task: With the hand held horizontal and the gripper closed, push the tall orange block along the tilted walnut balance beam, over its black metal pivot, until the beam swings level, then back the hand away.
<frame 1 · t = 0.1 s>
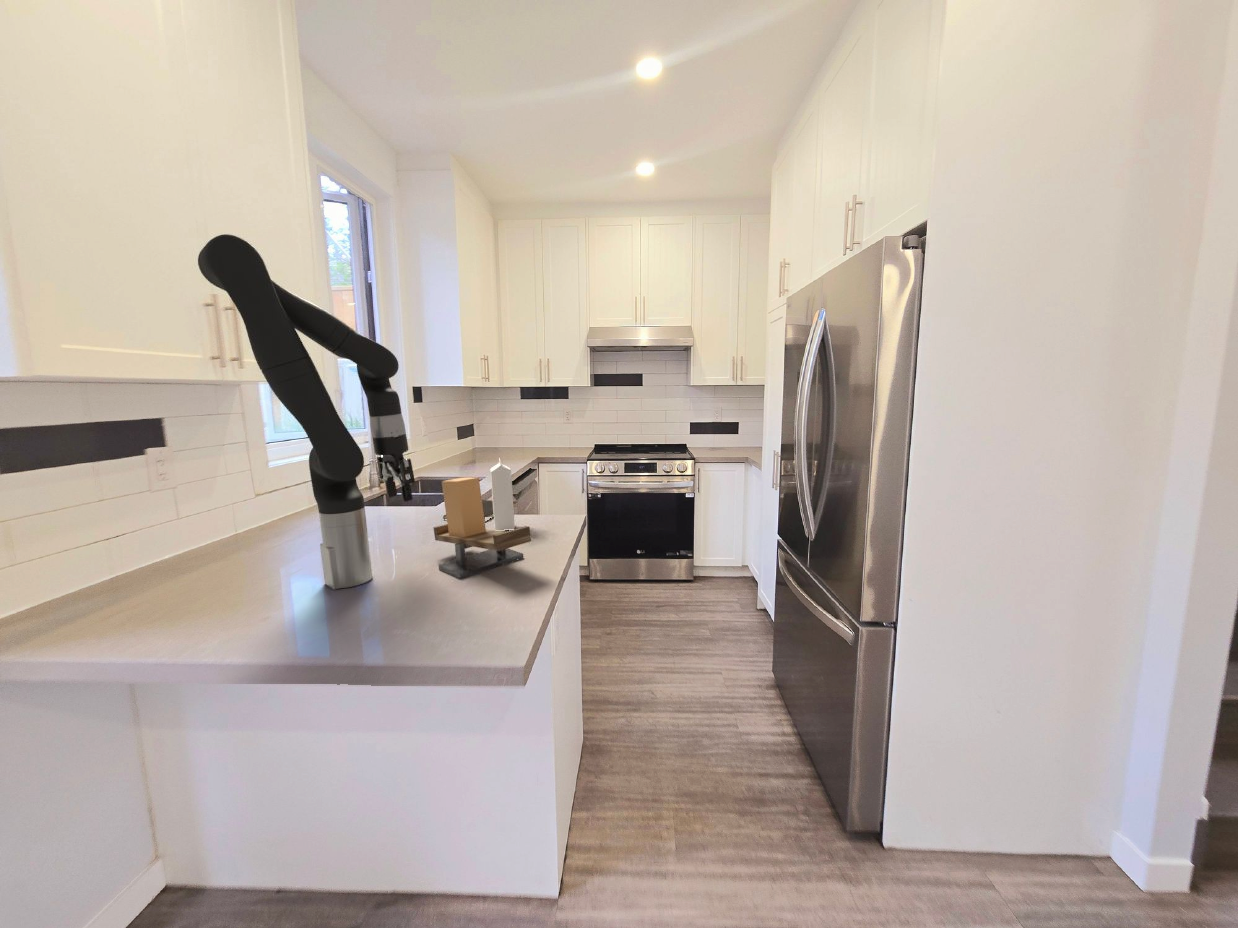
hand: (399, 498, 123), 17 cm above the countertop, tool pointing down, fingers open, 8 cm apart
milk: (504, 529, 156), on the countertop
pivot stand: (482, 563, 125), on the countertop
beam: (479, 535, 124), point 7 cm above the countertop, hinge at 6.3°, touching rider
hardcover book: (482, 514, 178), on the countertop
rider: (467, 533, 128), point 7 cm above the countertop, tilted 6°, touching beam
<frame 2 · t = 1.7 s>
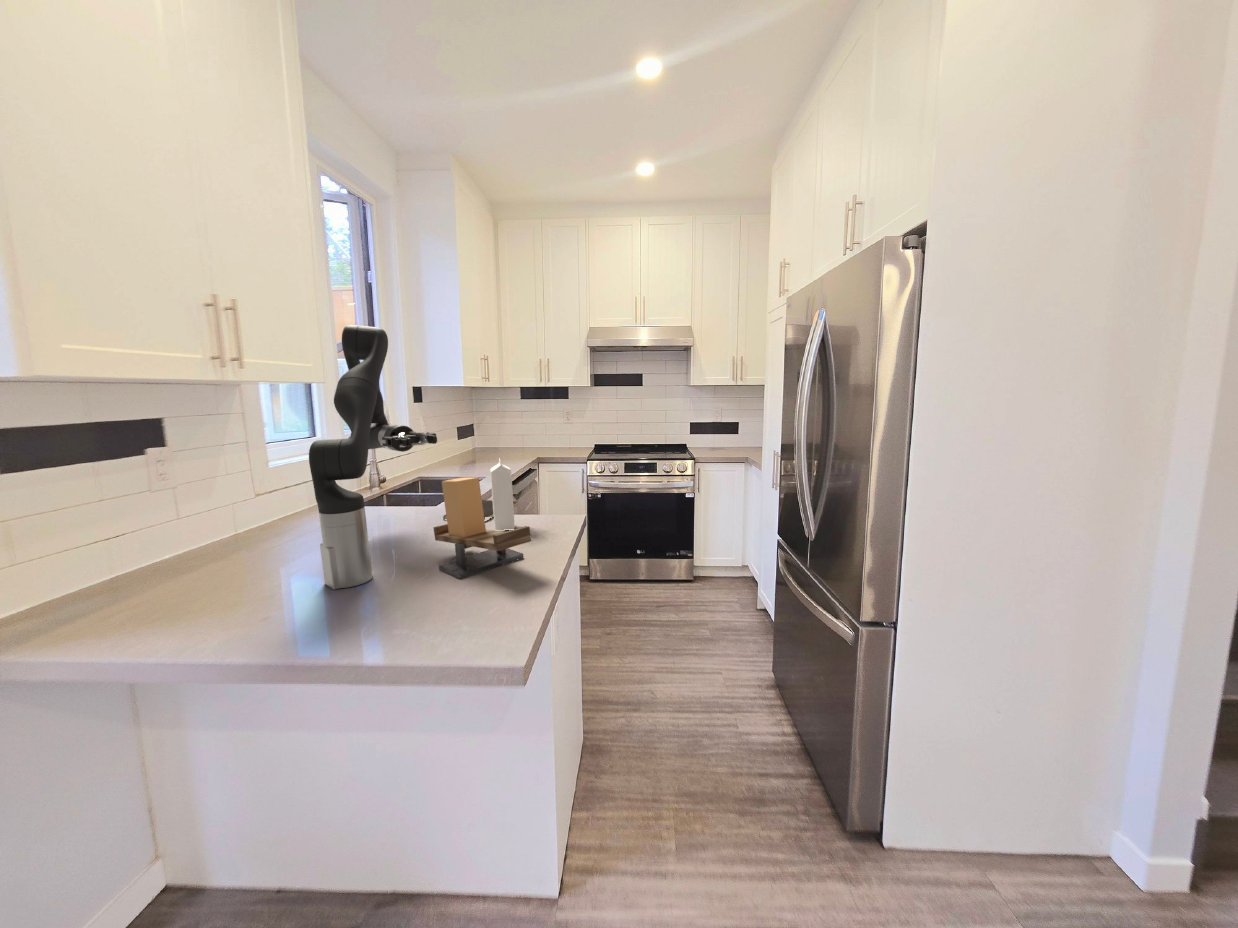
hand: (422, 441, 134), 30 cm above the countertop, tool horizontal, fingers open, 6 cm apart
nothing on the countertop moved.
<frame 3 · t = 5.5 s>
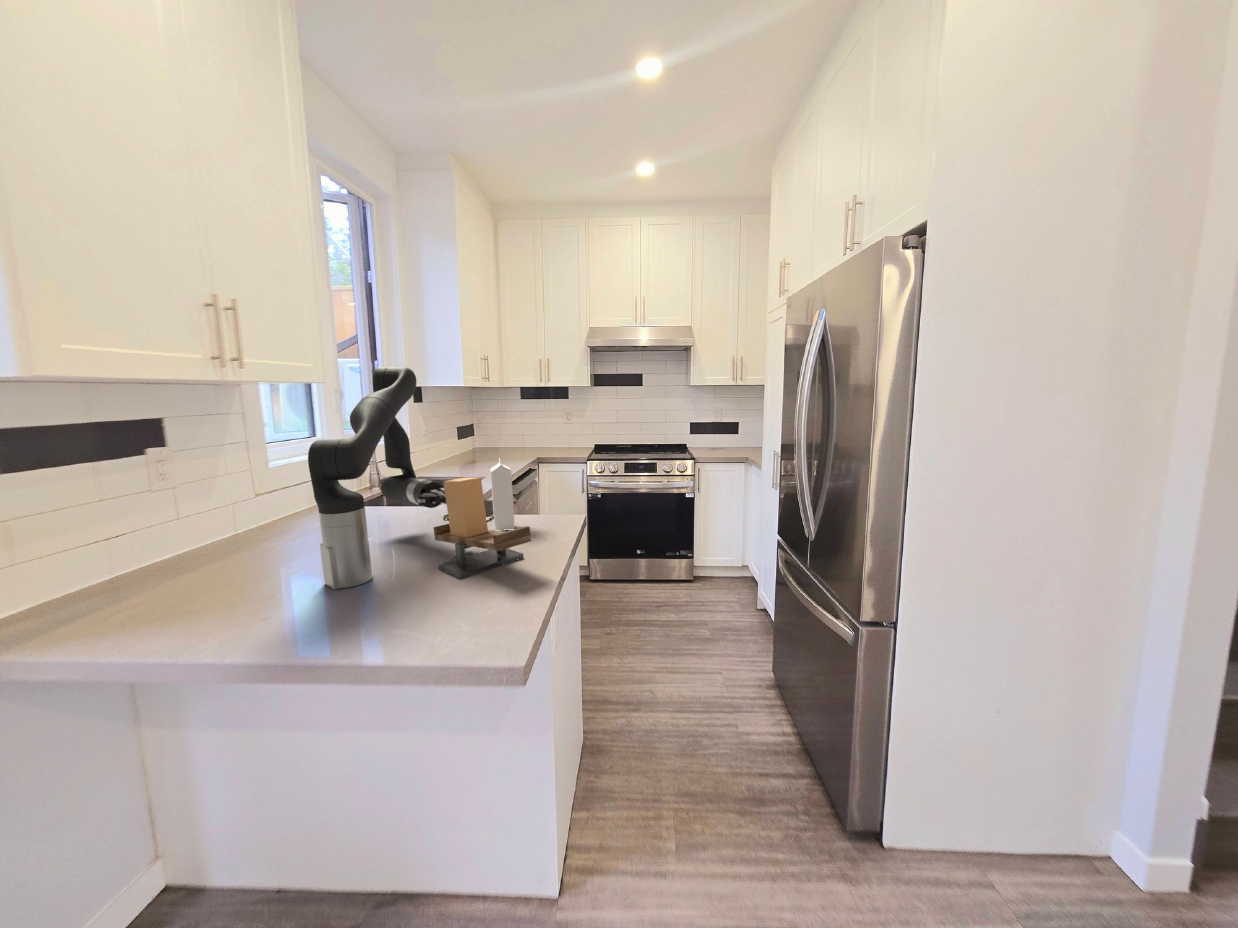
hand: (456, 500, 130), 15 cm above the countertop, tool horizontal, fingers closed
beam: (479, 535, 124), point 7 cm above the countertop, hinge at 6.3°
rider: (469, 533, 128), point 7 cm above the countertop, tilted 6°, touching gripper
everything else where it was.
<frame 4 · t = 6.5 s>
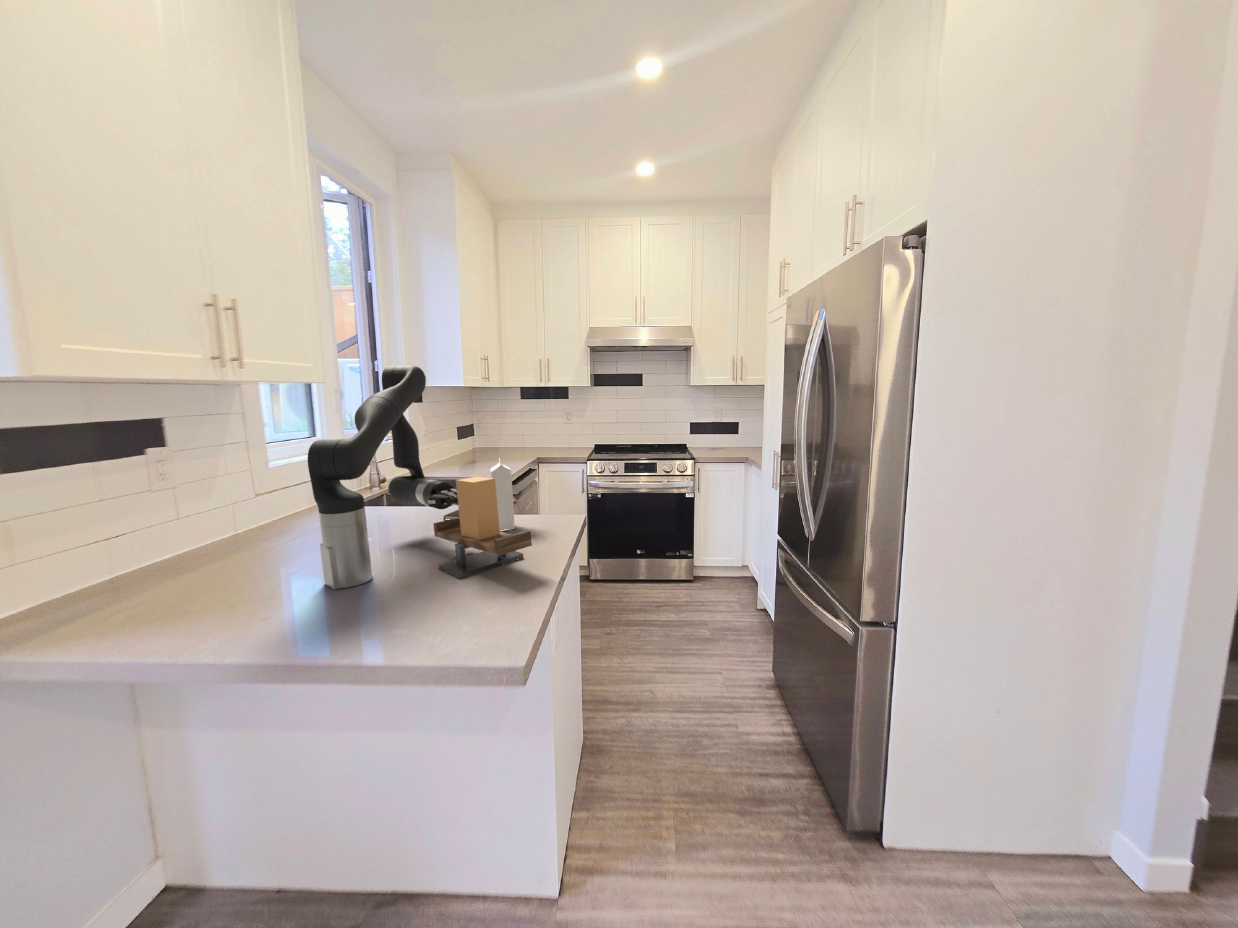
hand: (468, 501, 126), 15 cm above the countertop, tool horizontal, fingers closed
beam: (480, 535, 124), point 7 cm above the countertop, hinge at 2.2°, touching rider
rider: (480, 534, 124), point 7 cm above the countertop, touching beam, gripper
everything else where it was.
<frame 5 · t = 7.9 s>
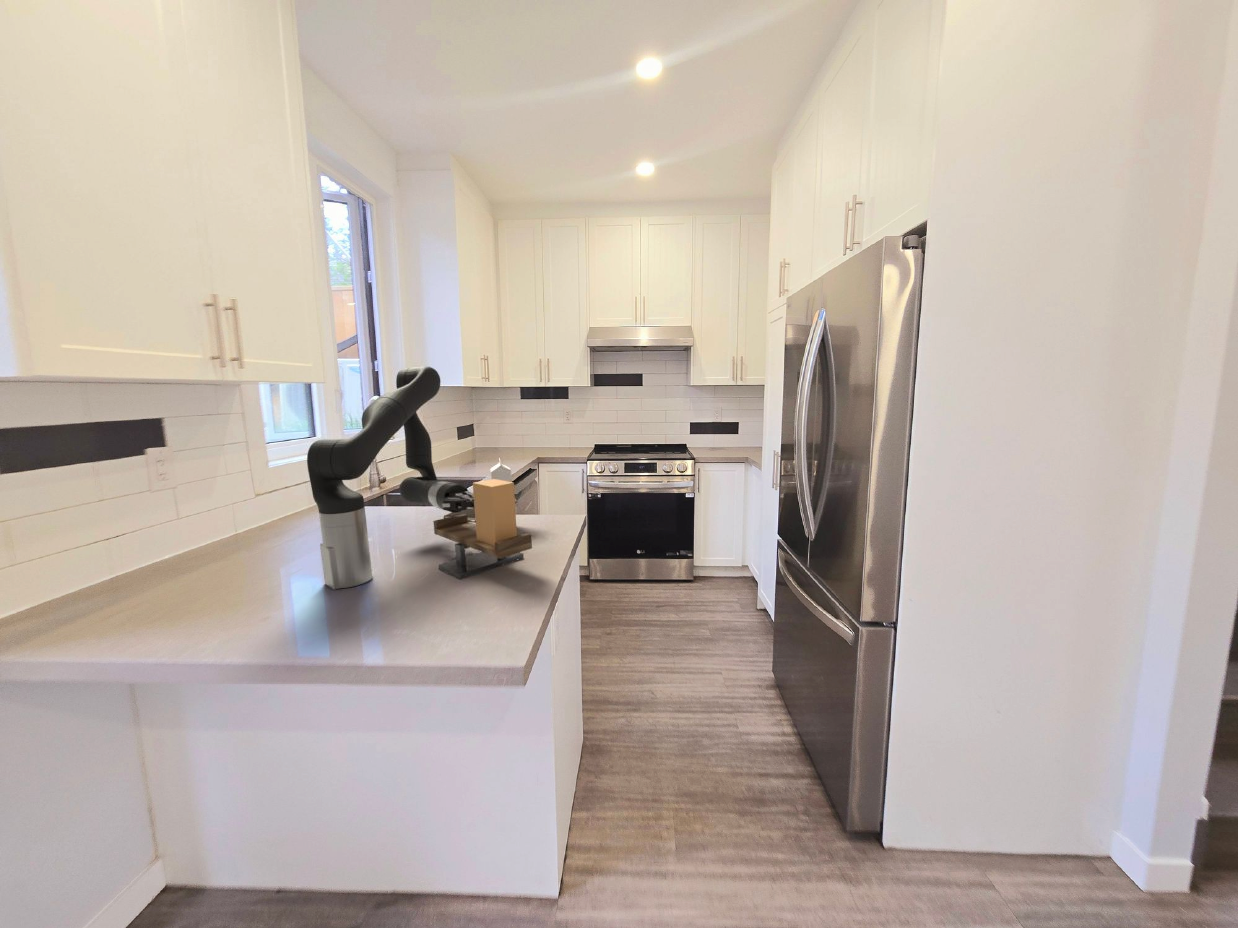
hand: (484, 505, 121), 15 cm above the countertop, tool horizontal, fingers closed
beam: (480, 535, 124), point 7 cm above the countertop, hinge at -0.4°
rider: (496, 539, 120), point 7 cm above the countertop
everything else where it was.
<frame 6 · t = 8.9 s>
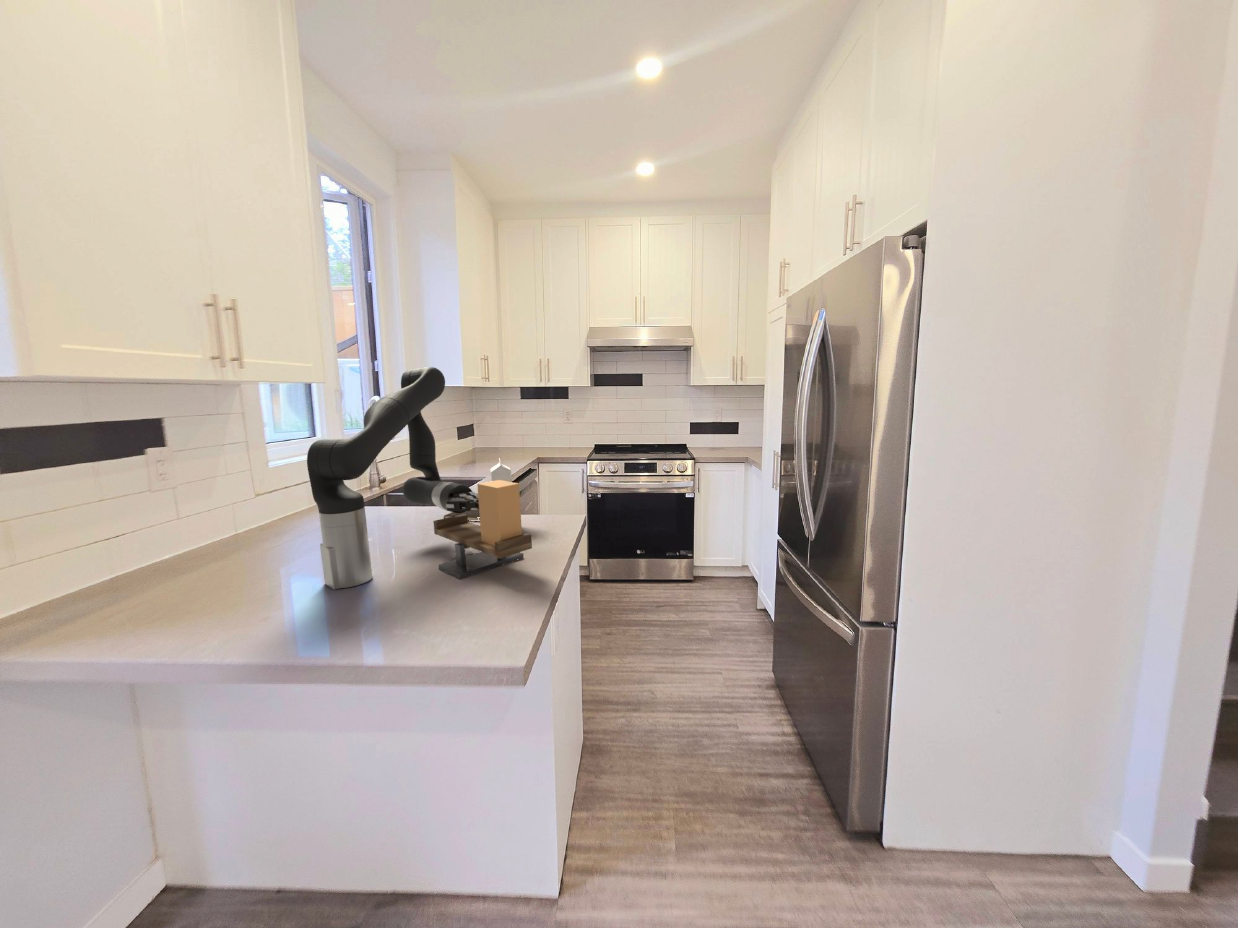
hand: (488, 506, 119), 16 cm above the countertop, tool horizontal, fingers closed
beam: (480, 535, 124), point 7 cm above the countertop, hinge at -0.4°, touching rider
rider: (501, 541, 118), point 7 cm above the countertop, touching beam
everything else where it was.
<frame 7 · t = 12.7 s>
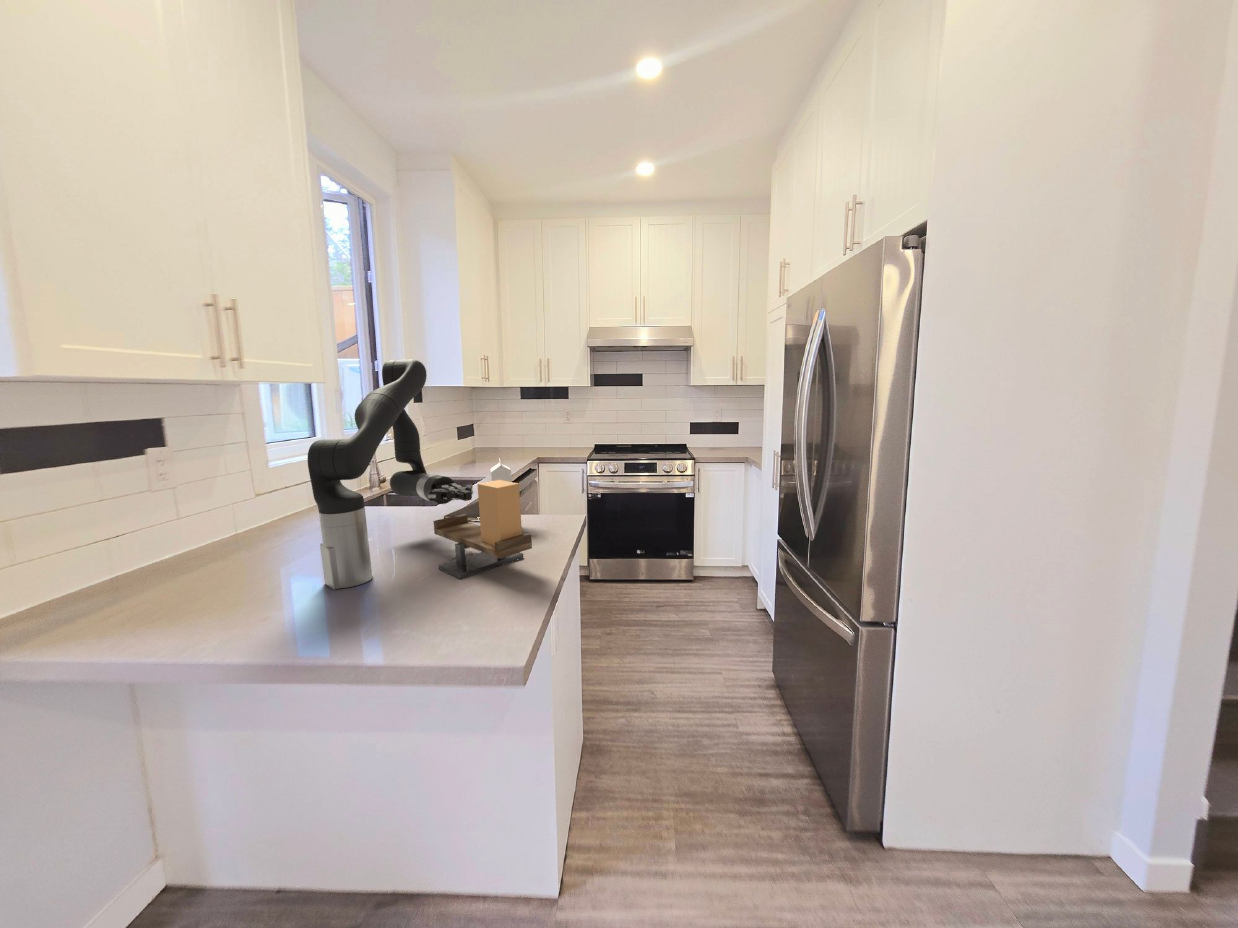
hand: (468, 496, 125), 17 cm above the countertop, tool horizontal, fingers closed
nothing on the countertop moved.
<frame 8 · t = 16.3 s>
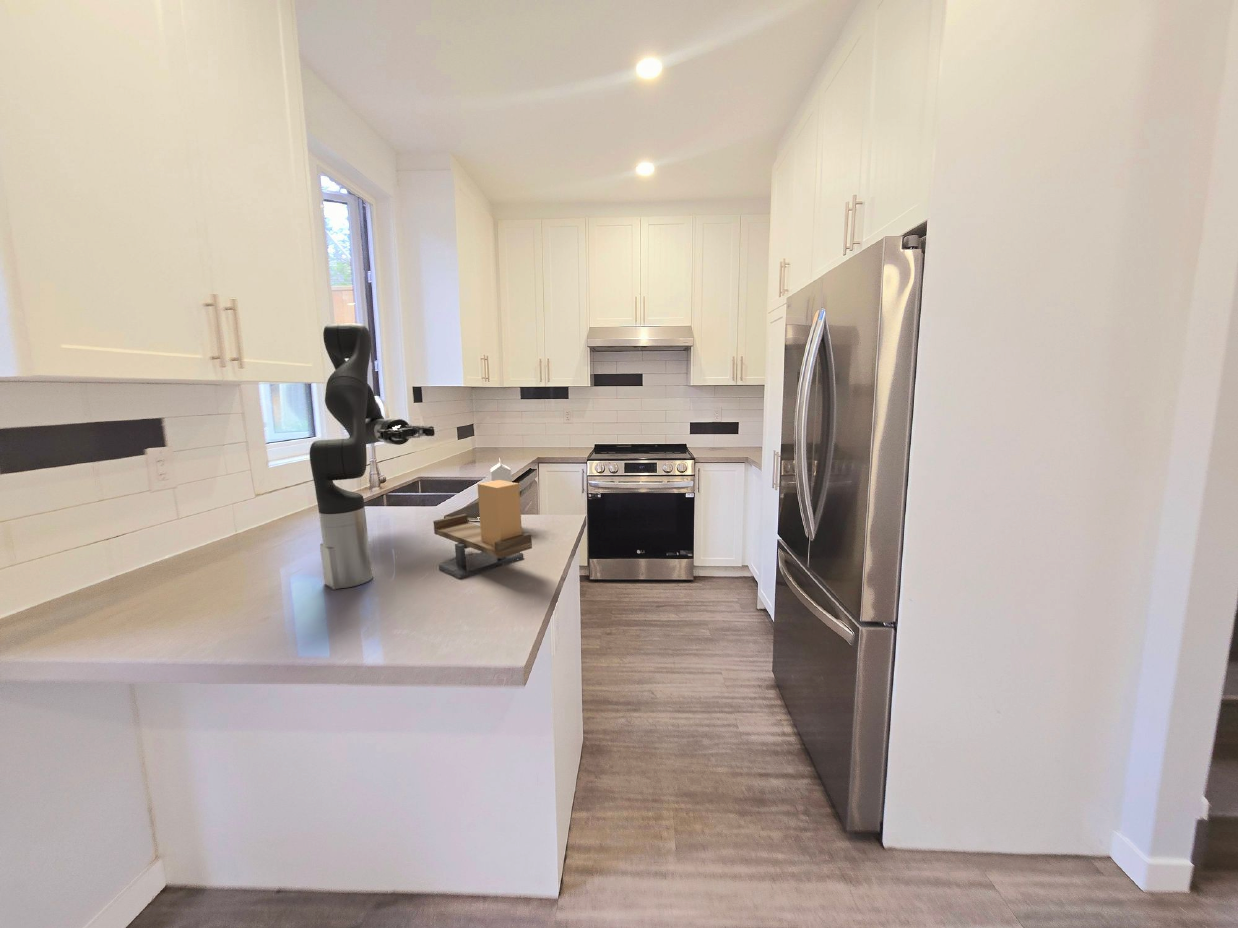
hand: (417, 433, 135), 32 cm above the countertop, tool horizontal, fingers open, 8 cm apart
beam: (480, 535, 124), point 7 cm above the countertop, hinge at -0.4°
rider: (501, 541, 118), point 7 cm above the countertop
everything else where it was.
at the end: beam at +0° (first picture: +6°); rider inside the target area on the beam (0.5 cm from its centre), point 1.4 cm above the beam's base; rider tilted 0° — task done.
